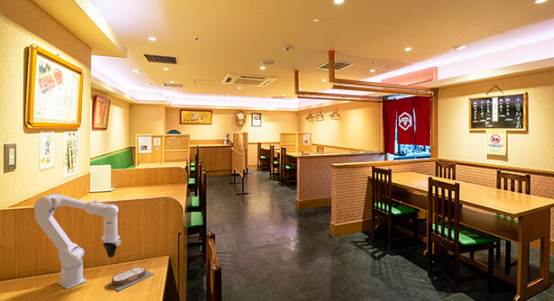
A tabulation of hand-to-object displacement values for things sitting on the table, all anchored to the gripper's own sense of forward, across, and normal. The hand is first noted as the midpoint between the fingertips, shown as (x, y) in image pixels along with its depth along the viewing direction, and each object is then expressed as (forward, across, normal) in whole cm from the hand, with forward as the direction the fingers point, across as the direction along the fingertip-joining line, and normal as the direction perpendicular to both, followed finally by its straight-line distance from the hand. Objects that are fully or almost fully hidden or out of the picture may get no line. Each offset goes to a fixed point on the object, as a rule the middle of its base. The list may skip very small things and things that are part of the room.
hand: (111, 256), depth 124 cm
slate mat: (+10, -11, -4) cm, 16 cm away
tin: (+8, -5, -4) cm, 11 cm away
